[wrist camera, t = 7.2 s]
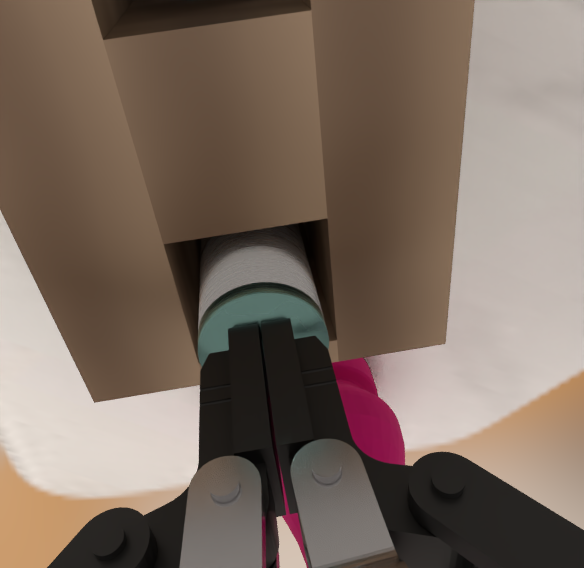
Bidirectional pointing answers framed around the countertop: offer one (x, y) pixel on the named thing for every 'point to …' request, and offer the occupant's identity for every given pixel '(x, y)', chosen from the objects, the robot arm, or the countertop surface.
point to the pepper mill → (361, 424)
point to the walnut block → (230, 165)
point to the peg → (256, 286)
